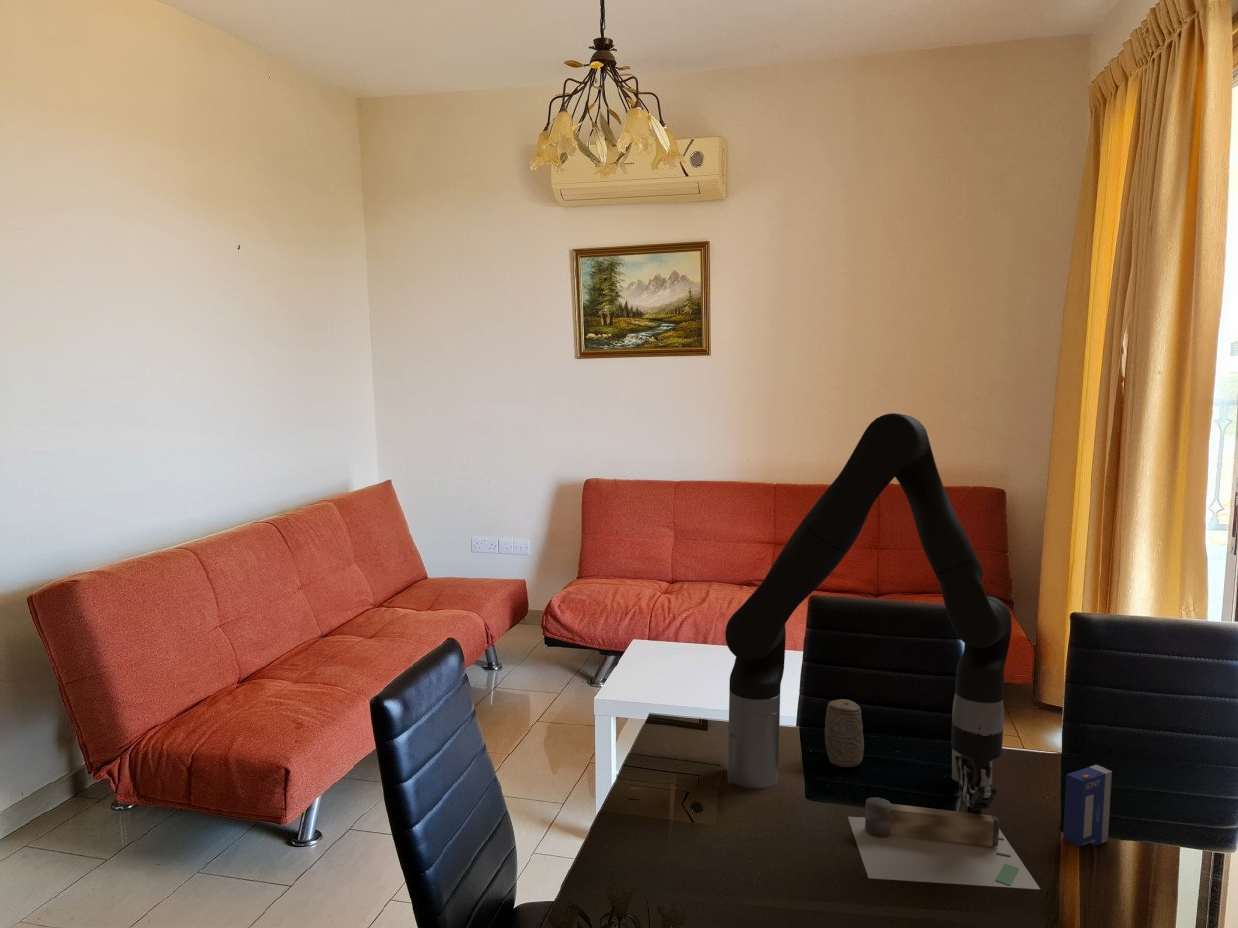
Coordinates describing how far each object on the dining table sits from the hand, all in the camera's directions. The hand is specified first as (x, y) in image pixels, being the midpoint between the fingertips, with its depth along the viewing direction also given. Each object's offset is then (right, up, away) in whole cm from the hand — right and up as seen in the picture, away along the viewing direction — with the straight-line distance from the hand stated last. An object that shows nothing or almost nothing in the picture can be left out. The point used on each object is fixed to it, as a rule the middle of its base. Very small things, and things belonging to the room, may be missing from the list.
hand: (972, 826), depth 135 cm
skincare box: (+8, -1, +19) cm, 21 cm away
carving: (-13, 0, +28) cm, 31 cm away
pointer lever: (-7, -1, -2) cm, 8 cm away
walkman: (+18, -3, -1) cm, 18 cm away
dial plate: (-8, -2, -5) cm, 10 cm away
